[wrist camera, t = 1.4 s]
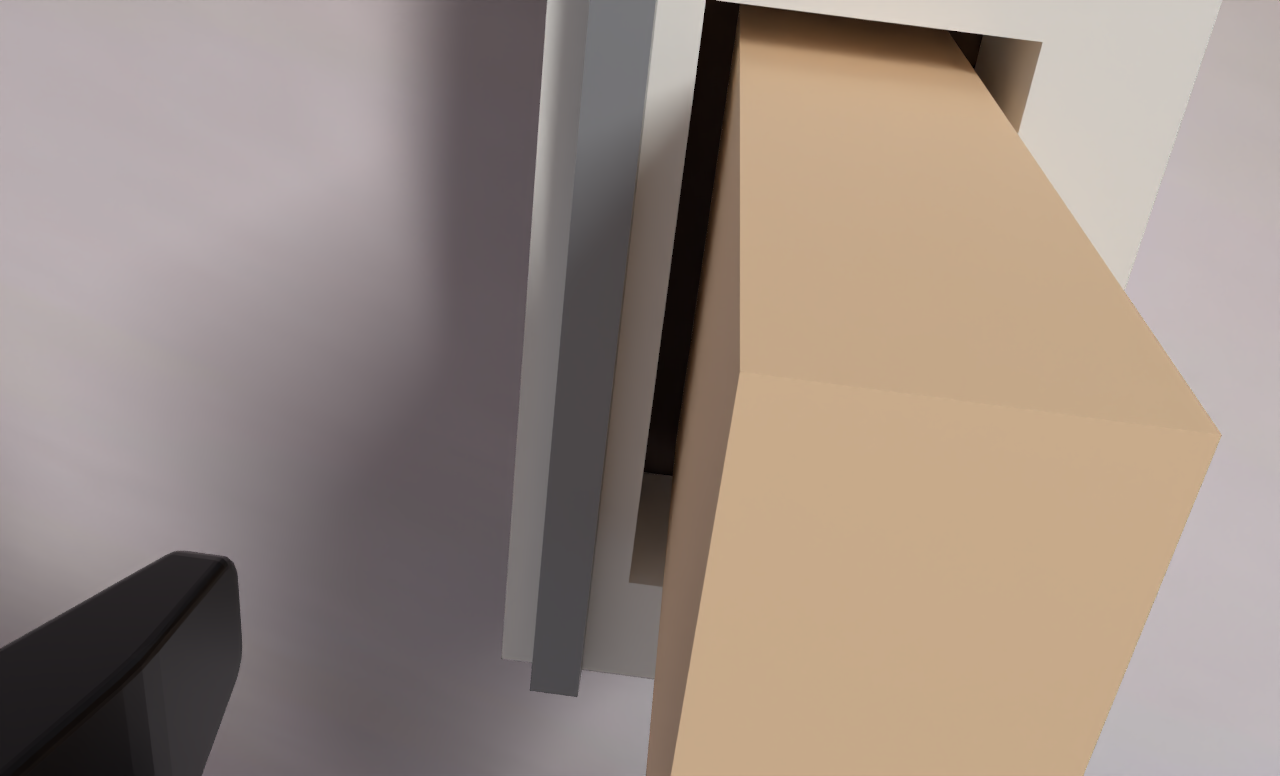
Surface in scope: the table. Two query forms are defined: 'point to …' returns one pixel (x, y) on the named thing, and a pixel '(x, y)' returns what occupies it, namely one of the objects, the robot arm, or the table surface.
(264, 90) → the table surface
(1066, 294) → the tan cardboard block
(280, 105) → the table surface
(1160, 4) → the dispenser
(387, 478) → the table surface
